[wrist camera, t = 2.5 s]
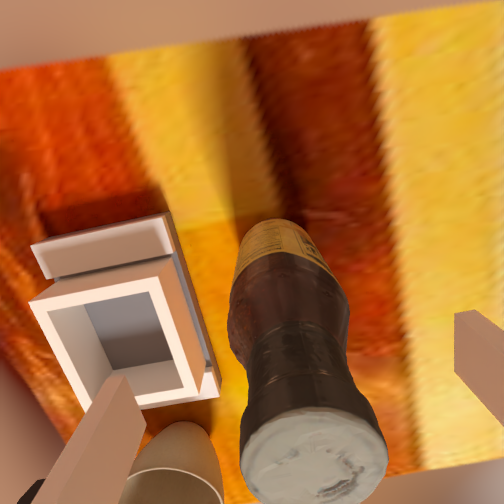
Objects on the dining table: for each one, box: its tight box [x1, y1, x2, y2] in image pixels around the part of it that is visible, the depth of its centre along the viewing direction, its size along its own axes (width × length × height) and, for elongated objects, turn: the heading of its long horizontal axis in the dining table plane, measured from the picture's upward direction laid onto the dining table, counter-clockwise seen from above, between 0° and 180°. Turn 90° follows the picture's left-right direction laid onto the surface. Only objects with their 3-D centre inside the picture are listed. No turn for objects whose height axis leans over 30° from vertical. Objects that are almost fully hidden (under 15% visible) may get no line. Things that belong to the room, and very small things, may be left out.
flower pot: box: [118, 421, 224, 504], centre depth 31 cm, size 10×10×7 cm
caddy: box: [28, 211, 222, 413], centre depth 27 cm, size 11×18×6 cm, turn 12°
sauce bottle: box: [227, 218, 389, 504], centre depth 18 cm, size 6×6×20 cm
